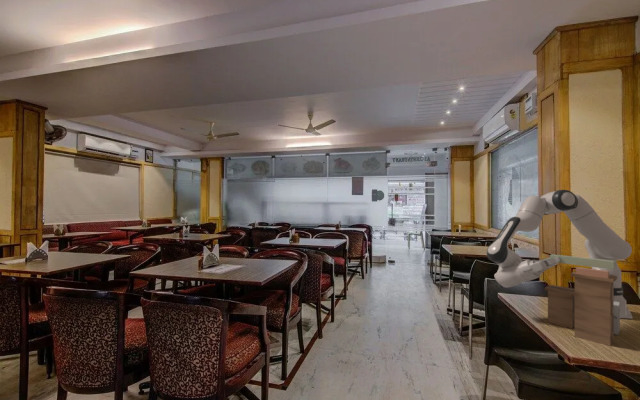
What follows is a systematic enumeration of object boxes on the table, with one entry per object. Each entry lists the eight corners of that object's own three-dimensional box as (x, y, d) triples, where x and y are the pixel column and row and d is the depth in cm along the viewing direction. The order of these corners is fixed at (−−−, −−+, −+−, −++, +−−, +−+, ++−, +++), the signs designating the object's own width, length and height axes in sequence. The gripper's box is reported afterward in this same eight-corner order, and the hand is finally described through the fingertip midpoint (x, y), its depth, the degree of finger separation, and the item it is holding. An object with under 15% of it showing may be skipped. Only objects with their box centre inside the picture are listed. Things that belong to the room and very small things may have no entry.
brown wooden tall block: (576, 331, 138) (576, 270, 138) (617, 341, 128) (617, 276, 128) (570, 336, 132) (571, 273, 133) (613, 347, 122) (613, 279, 123)
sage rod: (552, 260, 144) (552, 254, 144) (615, 268, 127) (615, 260, 127) (549, 261, 142) (549, 254, 142) (613, 269, 125) (613, 261, 125)
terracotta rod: (577, 273, 133) (577, 267, 133) (609, 277, 125) (609, 271, 126) (575, 273, 132) (575, 267, 132) (607, 278, 124) (608, 271, 124)
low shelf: (550, 318, 154) (550, 284, 154) (579, 325, 145) (579, 289, 145) (544, 322, 148) (544, 287, 148) (574, 329, 139) (574, 292, 140)
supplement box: (596, 330, 139) (596, 301, 139) (597, 326, 144) (597, 298, 144) (619, 335, 134) (619, 305, 134) (620, 331, 139) (620, 301, 139)
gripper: (517, 265, 144) (549, 253, 134) (533, 260, 157) (563, 249, 147) (525, 279, 141) (558, 267, 132) (541, 273, 154) (572, 262, 145)
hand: (561, 258), depth 140 cm, fingers closed on sage rod, 3 cm apart
